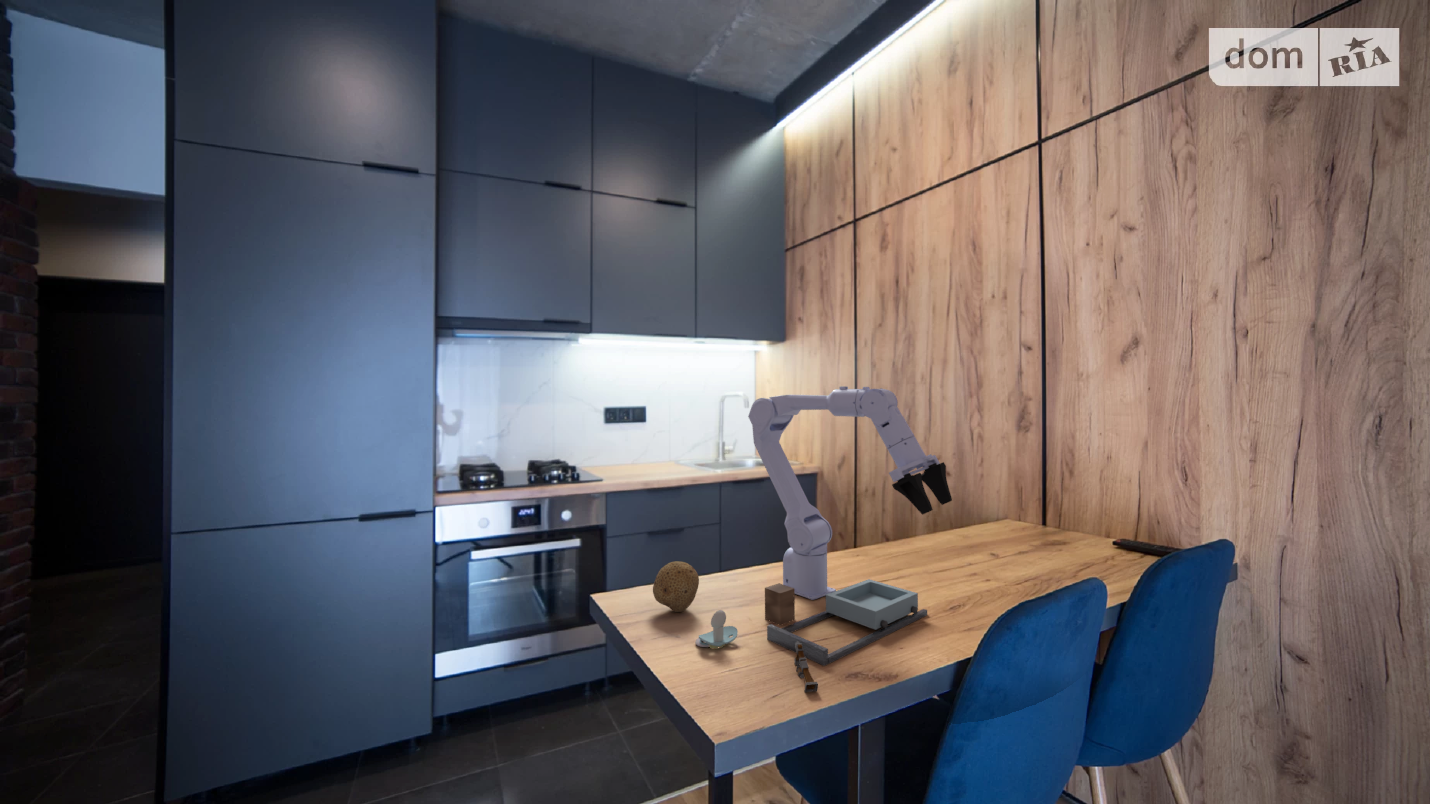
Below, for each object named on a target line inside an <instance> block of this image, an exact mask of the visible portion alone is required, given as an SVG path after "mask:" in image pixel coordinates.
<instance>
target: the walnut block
mask: <svg viewBox="0 0 1430 804" xmlns="http://www.w3.org/2000/svg"><path fill="white" fill-rule="evenodd" d="M795 595H796V594H795V591H794V588H792V587H789V586H786V585H783V583H775V584H772V585H770V586H766V587H764V619H765V620H766V621H769V620H770V621H769V622H772V623H773V622H774V623H773V624H775V625H778V624H779V625H778V626H783V625H784V624H785V625H786V624H788V623H790V622H793V621H795V620H796V619H795V618H796V617H795V616H796V615H795V612H796V610H795V609H796V607H795V599H796V597H795ZM792 620H793V621H792ZM789 621H790V622H789ZM782 624H783V625H782Z"/></svg>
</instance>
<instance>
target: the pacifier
mask: <svg viewBox="0 0 1430 804" xmlns="http://www.w3.org/2000/svg"><path fill="white" fill-rule="evenodd" d="M726 622H727V615H726V612H725V611H724V610H723V609H718V610H717V611H716V612H715V613H713V615H712V617H711V619H710V625H711V627H712V631H709V632H706V633H703V634H699V635H698V637H697V638H696V640H695V645H696V646H697V647H699V648H700V647H701V648H708V647H710V648H717V649H719V648H718V647H721V648H723V647H722V646H724V645H725V644H726V645H727V644H730V643H732V642H733V641H734V640H735V639H736V638H737V636H738V629H737V627H736V626H733V625H727V626H724V625H725V623H726ZM726 645H725V646H726ZM725 646H724V647H725ZM710 648H709V649H710Z"/></svg>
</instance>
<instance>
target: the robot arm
mask: <svg viewBox="0 0 1430 804" xmlns="http://www.w3.org/2000/svg"><path fill="white" fill-rule="evenodd" d="M816 410H818V411H820V410H821V411H825V410H826V411H827V410H828V411H829V412H830V413H831V414H832V415H833V416H835V417H853V418H854V417H858V418H860V417H861V418H864V417H867V418H868V419H870V420H871V422H872V424H873V425H874V427H875V429H876V431H877V433H878V435H879V437H880V438H881V440H882V442H883V443H884V445H885V447H886V449H887V451H888V453H889V455H890V457H891V458H892V460H893V461H894V464H895V466H896V467H897V468H895V469H893V470H891V471H889V472H888V475H889V477H890V478H891V480H892V482H894V483H892V484H891V486H892V487H893V489H894V490H895V491H897V492H898V493H900V494H901V495H902V496H904V497H905V498H906V499H907V500H908V501H909V502H910V503H911V504H912V505H913V506H914V507H915V509H916V510H917V511H918V512H919V513H920V514H921V515H925V514H927V513H930V512H932V511H933V510H934V509H933V506H932V503H931V501H930V499H929V497H928V494H927V493H926V490H925V486H924V484H925V485H926V486H927V487H928V488H929V490H930V491H931V493H932V494H933V495H934V496H935V498H936V499H937V501H938V502H939V504H941V505H942V506H943V505H945V504H947V503H950V502H952V501H953V497H952V494H951V491H950V488H949V484H948V480H947V465H946V463H945V462H944V461H943V462H940V461H939V459H938V457H937V456H936V455H935V454H933V455H932V453H931V454H928V455H926V453H925V452H924V450H923V448H922V446H921V445H920V442H918V439H917V437H916V436H915V434H914V433H913V430H912V429H911V427H910V426H909V424H908V422H907V421H906V418H905V417H904V415H903V414H902V413H901V411H900V408H899V406H898V398H897V395H895V393H894V392H893V391H891V390H889V389H885V388H882V387H881V388H870V387H869V386H862V388H849V387H848V386H847V385H845V386H839V388H836V389H833V390H832V391H831V392H830V393H829V394H828V395H824V394H823V395H822V394H817V395H816V394H782V395H775V396H769V397H768V398H766V397H759V398H757V399H755V400H754V401H753V403H752V405H751V407H750V410H749V414H748V416H747V417H748V419H749V421H750V423H751V426H752V437H753V439H752V440H753V444H754V447H755V449H756V451H757V453H758V455H759V458H760V459H761V462H762V464H763V465H764V468H765V470H766V472H767V474H768V476H769V478H770V479H769V480H771V483H772V484H773V486H774V489H775V491H776V493H777V495H778V497H779V499H780V502H781V503H782V506H783V508H784V511H785V512H786V516H785V519H784V524H783V525H784V527H785V529H786V533H787V543H788V544H789V546H790V547H789V548H787V550H786V551H785V553H784V555H783V559H782V584H783V585H786V586H789V587H792V588H794V591H795V595H798V596H800V597H804V598H806V599H809V600H812V601H814V600H817V599H820V598H822V597H826V595H827V594H829V593H832V592H835V591H837V589H836V588H834V587H830V586H828V543H829V542H830V541H831V539H832V537H833V528H832V526H831V524H830V522H829V521H828V520H827V519H825V517H823V515H822V514H821V512H820V510H819V509H818V508H817V507H815V506H814V505H812V504H811V503H810V502H809V500H808V497H807V496H806V494H805V492H804V490H803V488H802V486H801V483H800V481H799V480H798V477H797V475H796V473H795V471H794V469H793V467H792V466H791V463H790V461H789V459H788V458H787V455H786V453H785V451H784V449H783V446H782V445H781V443H780V440H781V437H782V434H783V433H784V432H785V430H786V429H787V427H788V426H789V425H790V423H791V422H792V420H793V418H794V416H797V415H799V414H800V412H801V411H816ZM915 469H916V470H915ZM922 471H923V473H921V472H922Z"/></svg>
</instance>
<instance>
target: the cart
mask: <svg viewBox="0 0 1430 804" xmlns="http://www.w3.org/2000/svg"><path fill="white" fill-rule="evenodd" d="M918 598H919V594H918V592H915V591H911V590H908V589H904V588H900V587H897V586H893V585H891V584H888V583H883V582H879V581H876V580H873V579H870V578H868V579H865V580H863V581H860V582H858V583H855V584H851V585H849V586H847V587H843V588H841V589H838V590H836V591H835V592H832V593H829V594H827V595H825V611H826V612H829V613H831V614H834V615H833V616H837V617H840V618H843V619H845V620H847V621H850V622H853V623H856V624H859V625H861V626H865V627H867V628H869V629H872V630H876V631H877V630H879V629H880V628H887V626H888V625H890V624H892V623H894V622H896V621H898V620H901V619H903V618H905V617H907V616H909V615H911V614H914V613H915V614H916V613H917V612H918V611H919V599H918Z"/></svg>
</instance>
